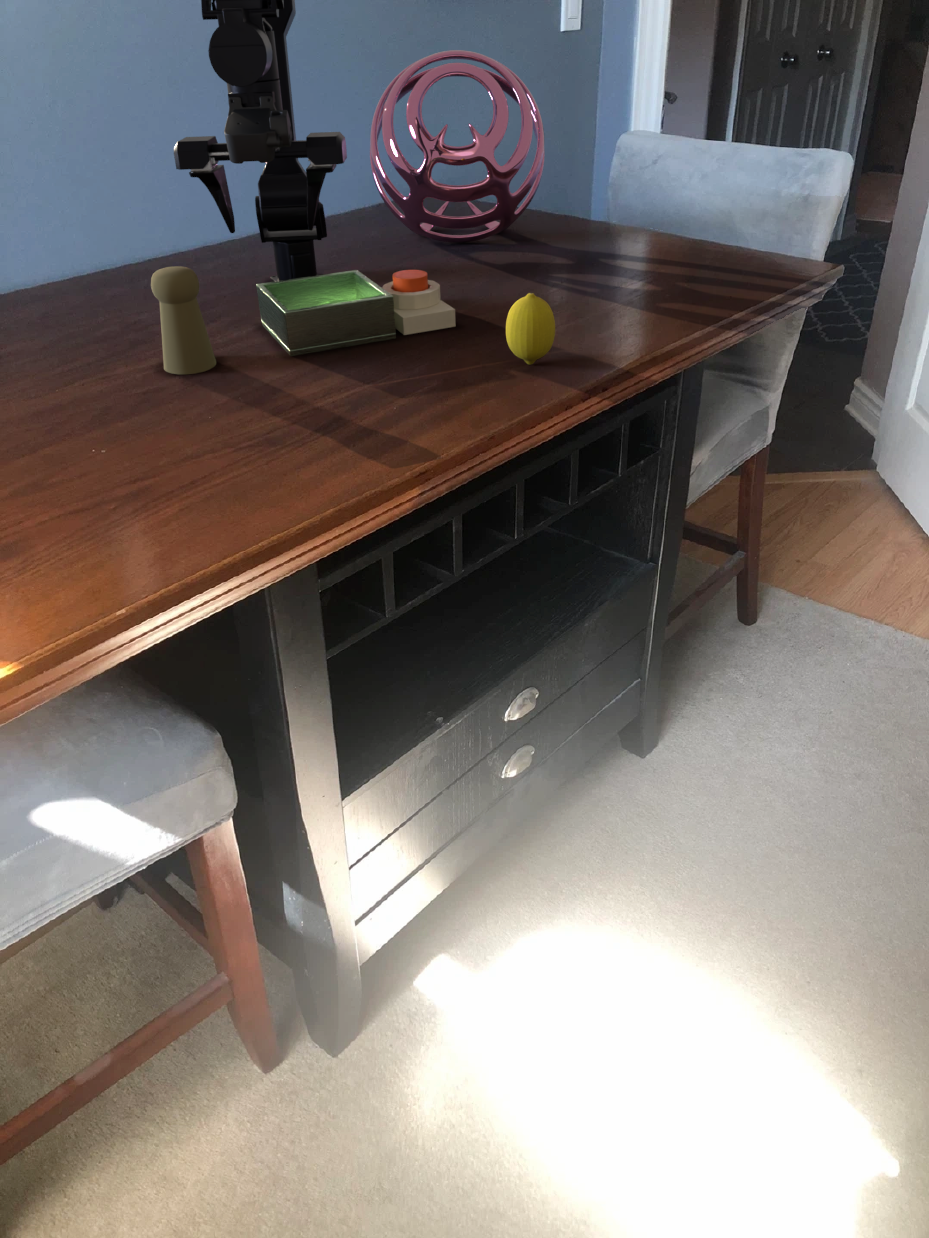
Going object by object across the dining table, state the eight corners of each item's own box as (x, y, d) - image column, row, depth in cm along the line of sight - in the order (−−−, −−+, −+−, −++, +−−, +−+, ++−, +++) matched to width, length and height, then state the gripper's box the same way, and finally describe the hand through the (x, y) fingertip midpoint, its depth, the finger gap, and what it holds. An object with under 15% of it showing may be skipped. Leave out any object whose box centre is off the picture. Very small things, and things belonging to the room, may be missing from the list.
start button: (388, 288, 127) (387, 272, 126) (420, 283, 128) (419, 268, 127) (401, 296, 123) (400, 281, 122) (433, 291, 125) (432, 276, 124)
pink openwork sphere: (399, 88, 171) (388, -11, 144) (555, 130, 171) (574, 39, 144) (358, 245, 171) (340, 175, 144) (514, 287, 171) (526, 225, 144)
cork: (168, 358, 118) (149, 262, 111) (219, 355, 118) (203, 260, 112) (159, 375, 113) (139, 277, 106) (213, 373, 113) (195, 274, 107)
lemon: (521, 376, 109) (521, 303, 105) (497, 361, 114) (496, 291, 109) (563, 367, 112) (565, 295, 107) (538, 353, 116) (539, 283, 111)
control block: (370, 310, 131) (367, 279, 129) (421, 302, 134) (419, 271, 131) (402, 335, 122) (400, 303, 120) (456, 326, 125) (455, 294, 122)
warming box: (261, 325, 127) (255, 284, 124) (360, 309, 131) (356, 269, 129) (290, 356, 117) (284, 312, 114) (396, 338, 121) (393, 296, 118)
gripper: (149, 89, 101) (177, 248, 109) (331, 83, 101) (345, 242, 110) (174, 81, 111) (198, 229, 119) (340, 76, 111) (353, 223, 119)
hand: (271, 231), depth 116 cm, fingers open, 9 cm apart
